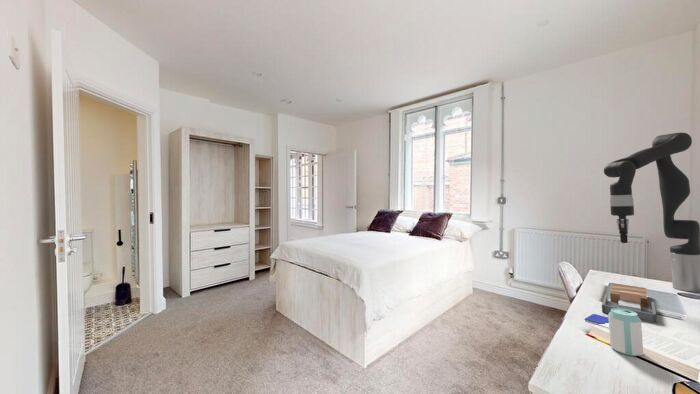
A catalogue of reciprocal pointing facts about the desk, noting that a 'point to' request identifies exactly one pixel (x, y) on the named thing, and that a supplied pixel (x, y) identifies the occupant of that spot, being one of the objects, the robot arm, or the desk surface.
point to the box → (644, 314)
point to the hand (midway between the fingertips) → (624, 242)
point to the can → (625, 332)
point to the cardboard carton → (616, 287)
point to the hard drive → (597, 319)
